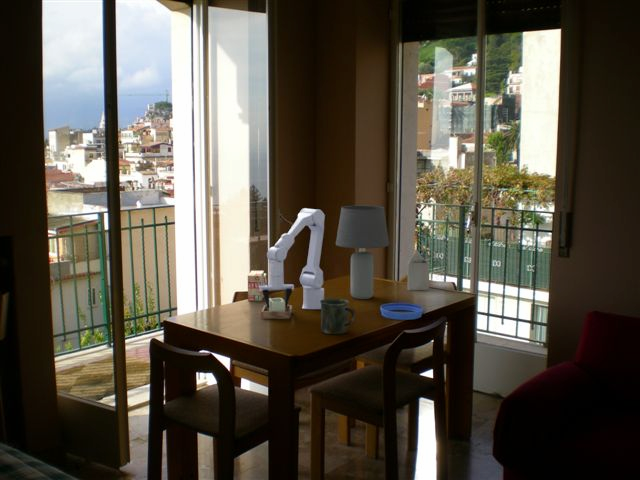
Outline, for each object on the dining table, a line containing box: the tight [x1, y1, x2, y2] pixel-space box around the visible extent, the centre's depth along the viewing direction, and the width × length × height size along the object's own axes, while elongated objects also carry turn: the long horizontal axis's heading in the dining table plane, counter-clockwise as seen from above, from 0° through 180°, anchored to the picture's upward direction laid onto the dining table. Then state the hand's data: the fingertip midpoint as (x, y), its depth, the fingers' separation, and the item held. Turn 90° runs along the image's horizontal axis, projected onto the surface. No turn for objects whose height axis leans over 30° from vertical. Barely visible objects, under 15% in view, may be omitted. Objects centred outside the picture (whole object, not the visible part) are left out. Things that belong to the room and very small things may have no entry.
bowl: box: [380, 302, 424, 321], centre depth 293 cm, size 18×18×4 cm
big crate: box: [260, 304, 293, 320], centre depth 292 cm, size 12×12×3 cm
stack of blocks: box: [247, 270, 268, 302], centre depth 329 cm, size 21×6×12 cm, turn 177°
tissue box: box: [407, 249, 431, 291], centre depth 346 cm, size 16×8×19 cm, turn 143°
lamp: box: [335, 205, 390, 300], centre depth 324 cm, size 25×25×43 cm
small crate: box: [269, 297, 285, 312], centre depth 292 cm, size 6×8×6 cm
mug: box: [320, 297, 356, 335], centre depth 266 cm, size 11×15×12 cm
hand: (276, 306), depth 291 cm, fingers open, 7 cm apart
